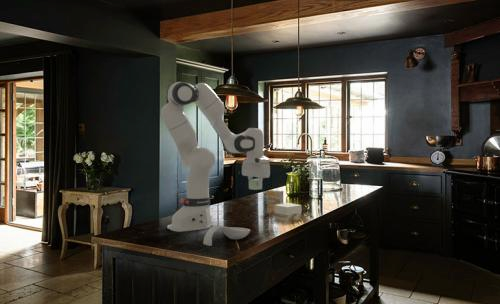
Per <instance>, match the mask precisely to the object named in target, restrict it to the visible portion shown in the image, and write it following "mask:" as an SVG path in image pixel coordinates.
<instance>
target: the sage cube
mask: <svg viewBox="0 0 500 304" xmlns="http://www.w3.org/2000/svg"><path fill="white" fill-rule="evenodd" d="M258 180H259V179H258V178H252V179H248V189H249V190H253V191H255V190H263V181H262V182H261V186H257V182H258Z"/></svg>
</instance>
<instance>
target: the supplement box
mask: <svg viewBox="0 0 500 304" xmlns="http://www.w3.org/2000/svg"><path fill="white" fill-rule="evenodd" d="M277 204H284V190H274V189H270V190H267V214H270V215H274V212H275V205H277Z"/></svg>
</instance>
